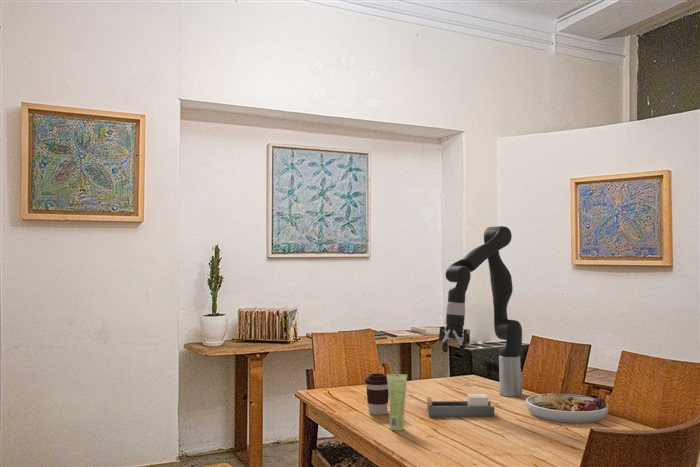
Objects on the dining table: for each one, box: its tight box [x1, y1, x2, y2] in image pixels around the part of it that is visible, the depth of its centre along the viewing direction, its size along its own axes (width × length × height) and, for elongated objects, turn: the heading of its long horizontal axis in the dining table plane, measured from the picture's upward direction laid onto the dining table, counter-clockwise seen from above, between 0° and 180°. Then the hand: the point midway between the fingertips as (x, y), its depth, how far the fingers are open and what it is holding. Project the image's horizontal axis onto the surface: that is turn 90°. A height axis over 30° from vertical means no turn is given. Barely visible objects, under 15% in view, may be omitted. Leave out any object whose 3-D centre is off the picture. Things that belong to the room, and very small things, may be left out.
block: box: [467, 393, 489, 406], centre depth 233 cm, size 7×6×6 cm
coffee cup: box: [364, 372, 389, 416], centre depth 237 cm, size 10×10×15 cm
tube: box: [385, 373, 408, 432], centre depth 214 cm, size 6×5×20 cm
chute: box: [426, 396, 496, 418], centre depth 233 cm, size 25×9×6 cm, turn 87°
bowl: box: [525, 392, 609, 424], centre depth 231 cm, size 30×30×8 cm
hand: (453, 353), depth 245 cm, fingers open, 8 cm apart
